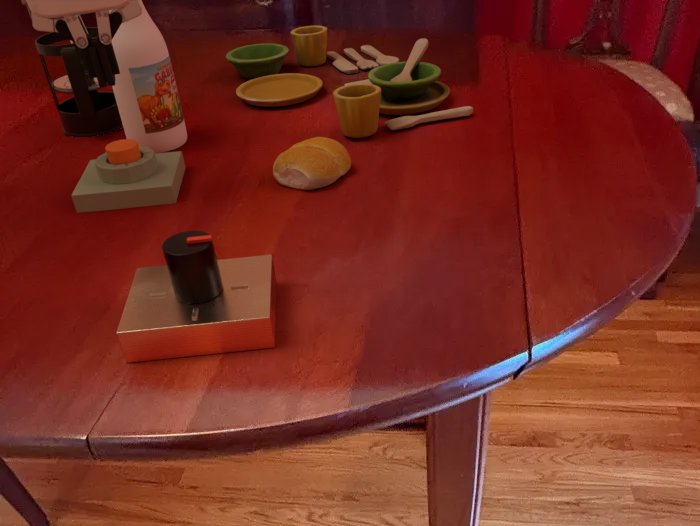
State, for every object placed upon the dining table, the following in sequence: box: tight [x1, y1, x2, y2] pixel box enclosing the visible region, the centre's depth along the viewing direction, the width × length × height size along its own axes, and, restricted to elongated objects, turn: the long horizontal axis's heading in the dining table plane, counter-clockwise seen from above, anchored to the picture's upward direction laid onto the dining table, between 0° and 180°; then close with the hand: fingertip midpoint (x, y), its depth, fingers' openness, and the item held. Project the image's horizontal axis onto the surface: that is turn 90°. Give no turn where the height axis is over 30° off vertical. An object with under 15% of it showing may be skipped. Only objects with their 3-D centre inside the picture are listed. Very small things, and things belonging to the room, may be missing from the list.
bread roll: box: [272, 136, 352, 191], centre depth 83 cm, size 8×9×4 cm
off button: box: [104, 138, 141, 165], centre depth 82 cm, size 4×4×2 cm
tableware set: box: [225, 24, 474, 139], centre depth 105 cm, size 41×28×6 cm
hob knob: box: [161, 230, 223, 303], centre depth 59 cm, size 4×4×5 cm
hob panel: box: [115, 254, 278, 364], centre depth 61 cm, size 12×10×3 cm
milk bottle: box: [109, 0, 188, 154], centre depth 89 cm, size 8×8×20 cm
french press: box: [20, 0, 123, 138], centre depth 95 cm, size 12×9×23 cm
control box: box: [70, 146, 186, 214], centre depth 83 cm, size 11×10×4 cm
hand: (107, 82), depth 77 cm, fingers closed
